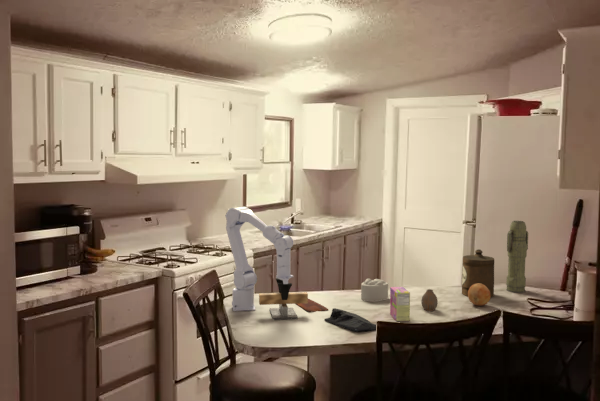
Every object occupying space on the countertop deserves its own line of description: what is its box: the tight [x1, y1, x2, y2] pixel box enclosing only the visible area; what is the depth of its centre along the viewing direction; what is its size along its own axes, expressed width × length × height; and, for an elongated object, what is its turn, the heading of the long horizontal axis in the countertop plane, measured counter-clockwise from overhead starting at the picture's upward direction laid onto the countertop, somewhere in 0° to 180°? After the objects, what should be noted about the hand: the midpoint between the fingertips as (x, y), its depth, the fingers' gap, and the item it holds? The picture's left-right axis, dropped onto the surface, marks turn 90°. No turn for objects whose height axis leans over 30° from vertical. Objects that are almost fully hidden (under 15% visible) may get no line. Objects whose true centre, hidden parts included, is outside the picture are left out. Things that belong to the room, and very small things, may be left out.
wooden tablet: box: [296, 298, 329, 313], centre depth 248 cm, size 27×10×2 cm, turn 23°
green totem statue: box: [505, 220, 529, 294], centre depth 276 cm, size 9×12×35 cm
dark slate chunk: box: [324, 307, 377, 332], centre depth 219 cm, size 15×22×5 cm
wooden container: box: [461, 249, 495, 298], centre depth 268 cm, size 15×15×22 cm
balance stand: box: [269, 304, 299, 321], centre depth 231 cm, size 10×14×5 cm
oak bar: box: [258, 291, 309, 306], centre depth 230 cm, size 20×3×4 cm, turn 99°
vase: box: [421, 288, 439, 312], centre depth 241 cm, size 7×7×9 cm
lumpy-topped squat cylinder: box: [360, 278, 389, 302], centre depth 260 cm, size 10×13×9 cm
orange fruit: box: [467, 283, 491, 307], centre depth 248 cm, size 10×10×10 cm
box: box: [389, 286, 411, 322], centre depth 228 cm, size 10×6×12 cm, turn 5°
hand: (283, 297), depth 230 cm, fingers open, 7 cm apart
